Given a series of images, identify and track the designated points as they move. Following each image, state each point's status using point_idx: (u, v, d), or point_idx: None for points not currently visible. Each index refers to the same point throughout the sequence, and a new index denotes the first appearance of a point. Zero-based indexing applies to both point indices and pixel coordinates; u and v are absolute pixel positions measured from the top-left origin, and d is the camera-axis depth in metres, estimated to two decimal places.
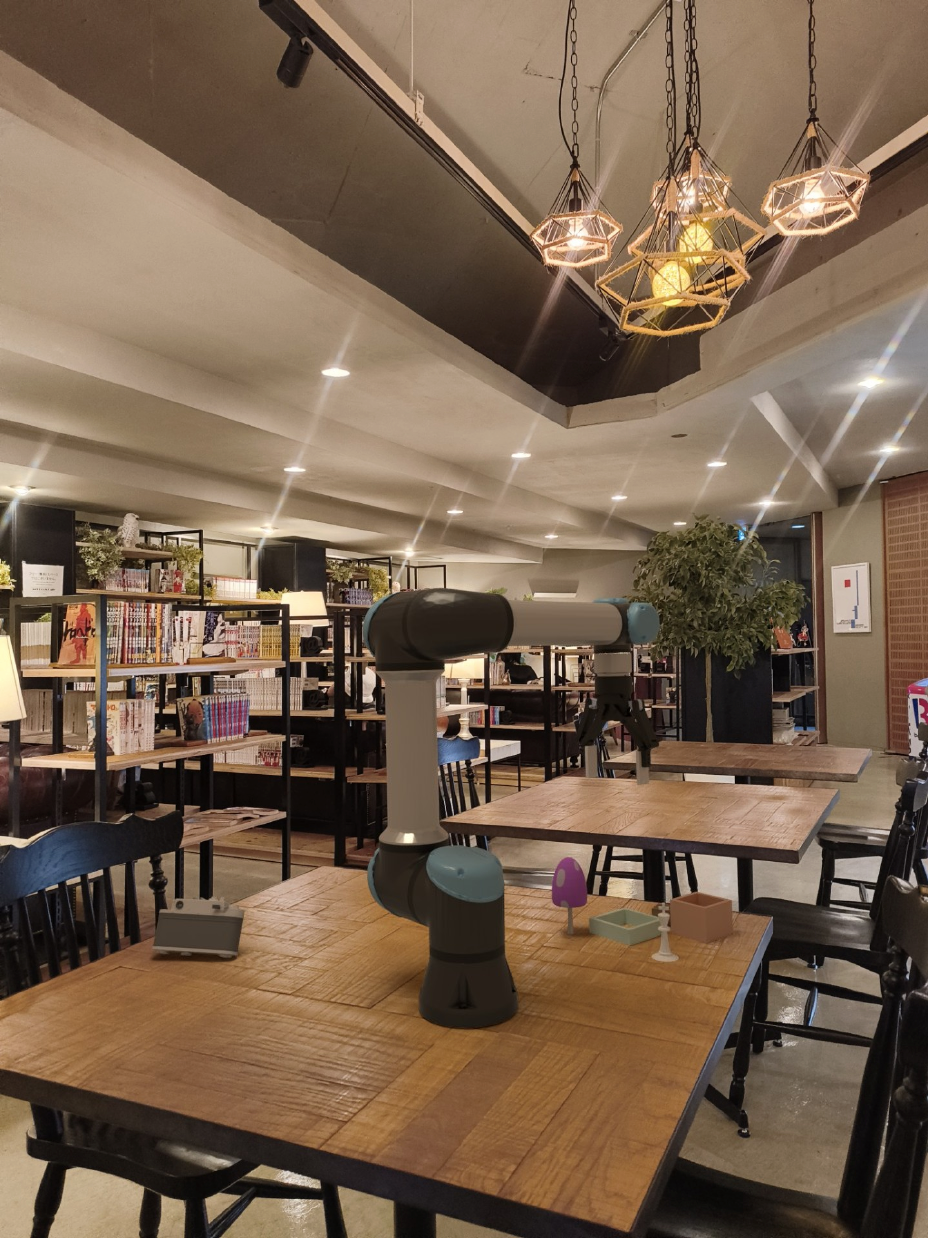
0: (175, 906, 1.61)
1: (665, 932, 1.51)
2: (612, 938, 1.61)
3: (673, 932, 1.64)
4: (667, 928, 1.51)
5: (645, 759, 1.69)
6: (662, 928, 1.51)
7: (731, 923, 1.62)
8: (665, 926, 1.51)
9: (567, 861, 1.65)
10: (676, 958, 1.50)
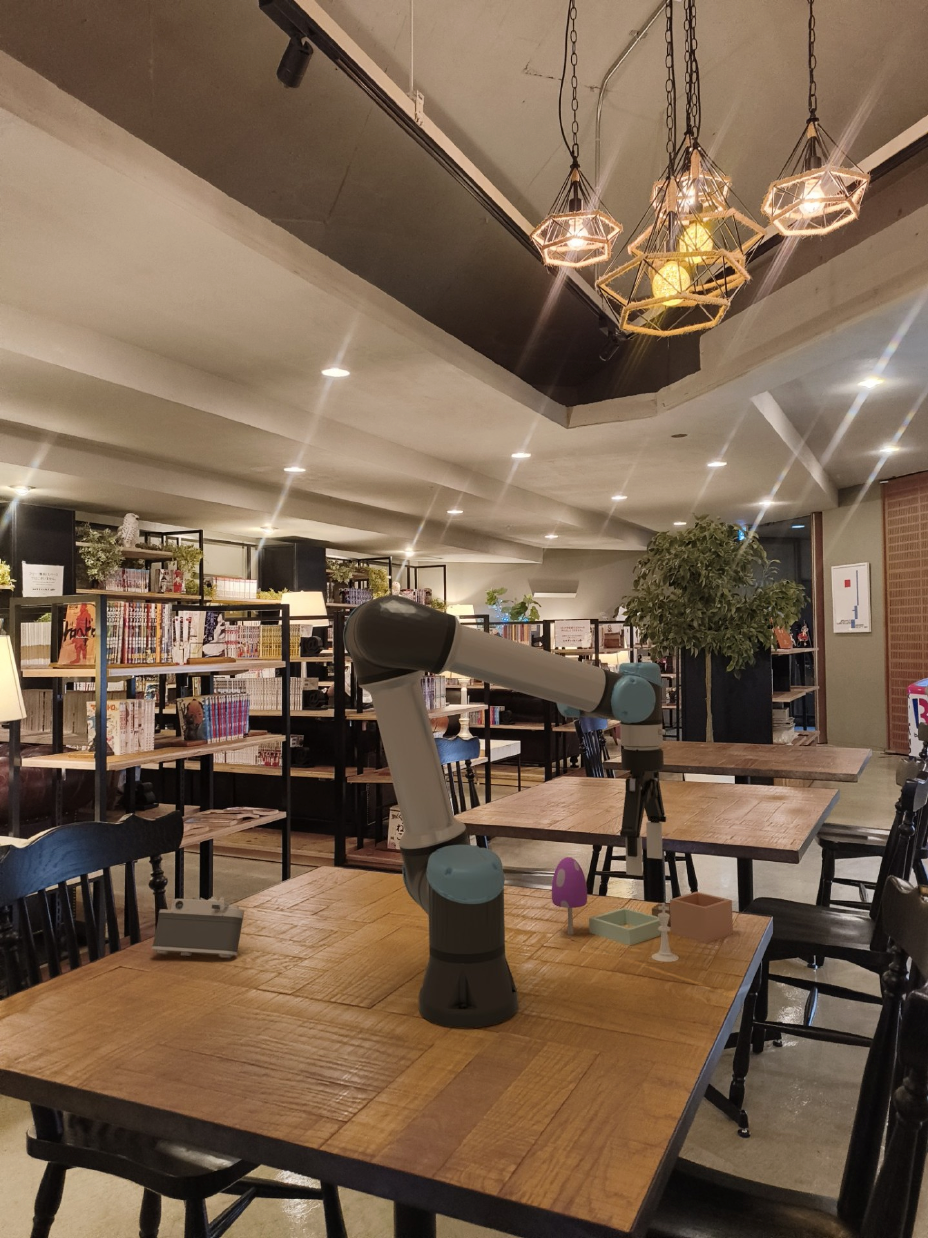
0: (175, 906, 1.61)
1: (665, 932, 1.51)
2: (612, 938, 1.61)
3: (673, 932, 1.64)
4: (667, 928, 1.51)
5: (627, 847, 1.50)
6: (662, 928, 1.51)
7: (731, 923, 1.62)
8: (665, 926, 1.51)
9: (567, 861, 1.65)
10: (676, 958, 1.50)
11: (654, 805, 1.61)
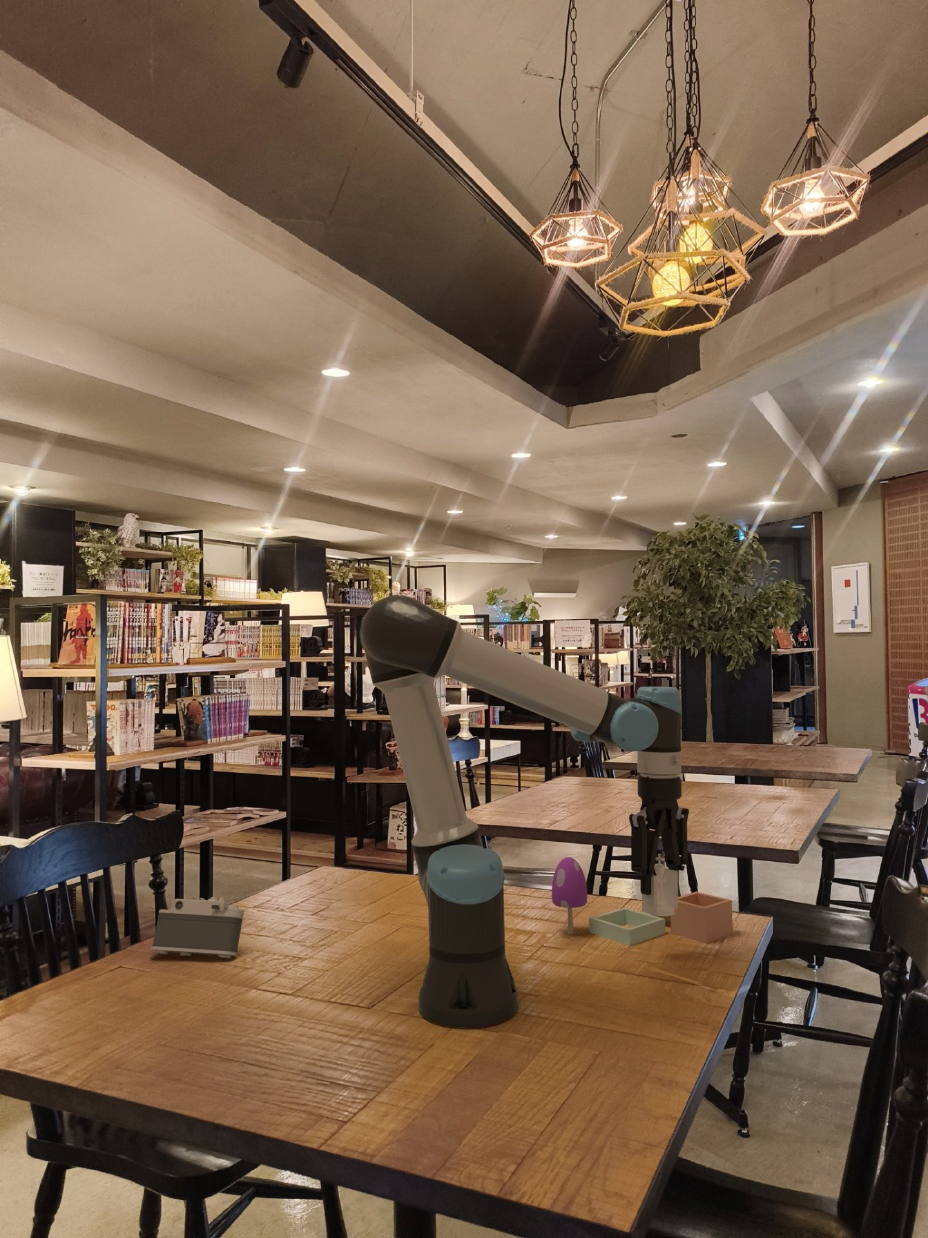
0: (174, 906, 1.61)
1: (660, 882, 1.51)
2: (612, 938, 1.61)
3: (673, 932, 1.64)
4: (663, 879, 1.51)
5: None
6: (658, 878, 1.51)
7: (731, 923, 1.62)
8: (661, 877, 1.51)
9: (567, 861, 1.65)
10: (671, 908, 1.50)
11: (671, 843, 1.53)
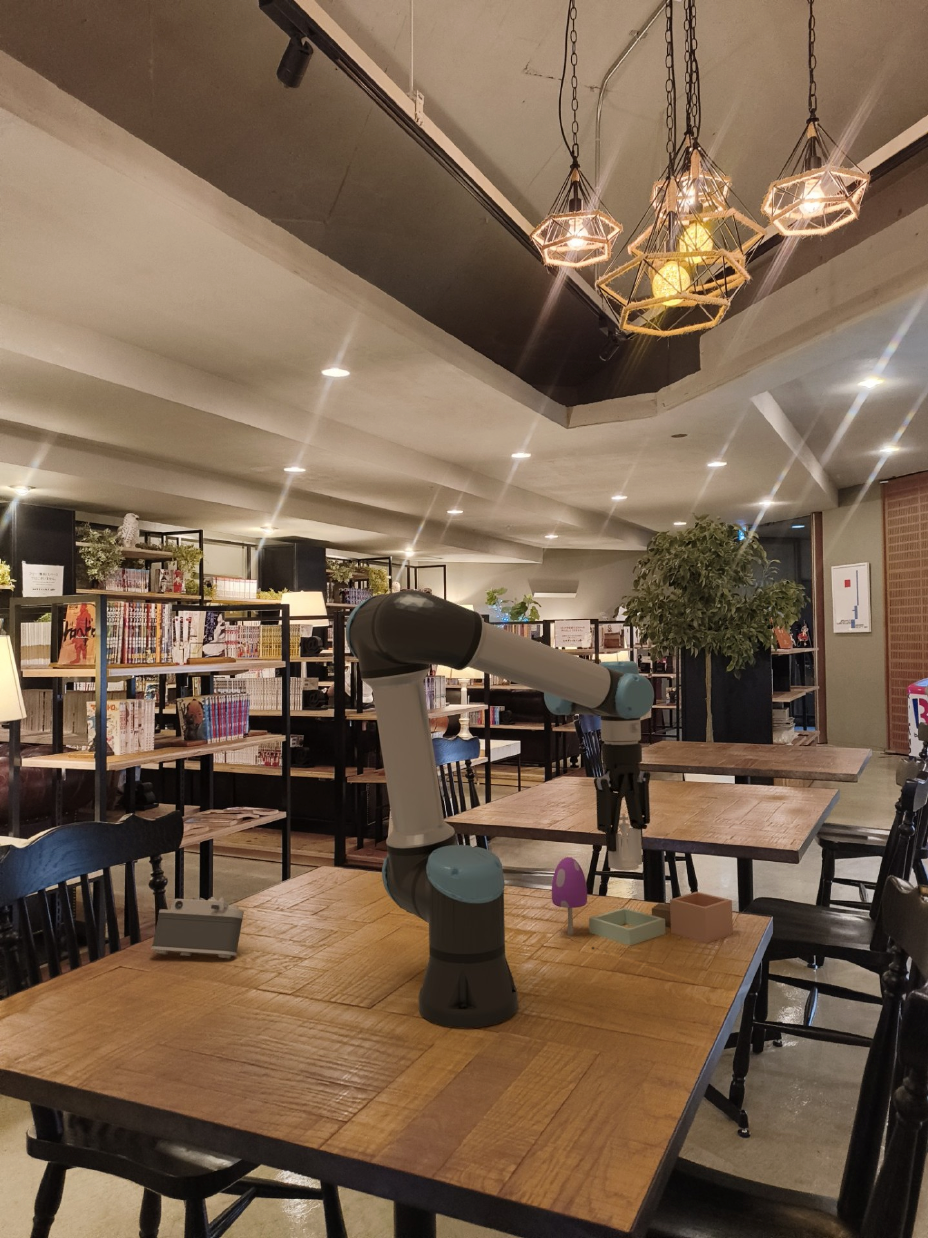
0: (174, 906, 1.61)
1: (625, 840, 1.65)
2: (612, 938, 1.61)
3: (673, 932, 1.64)
4: (627, 836, 1.65)
5: None
6: (622, 836, 1.65)
7: (731, 923, 1.62)
8: (625, 835, 1.65)
9: (567, 861, 1.65)
10: (635, 863, 1.64)
11: (634, 804, 1.66)
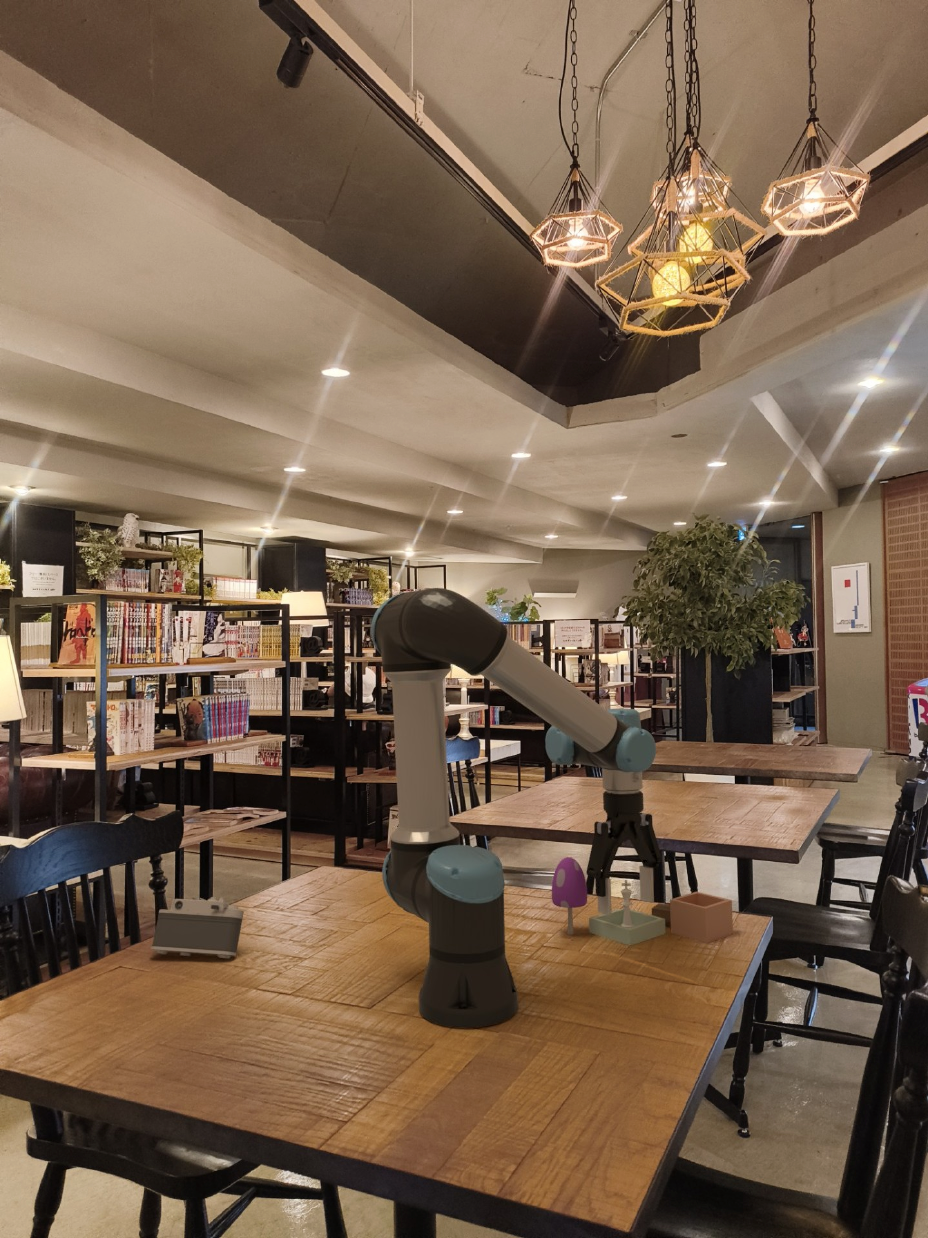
0: (174, 906, 1.61)
1: (627, 906, 1.64)
2: (612, 938, 1.61)
3: (673, 932, 1.64)
4: (629, 903, 1.64)
5: None
6: (624, 903, 1.64)
7: (731, 923, 1.62)
8: (627, 901, 1.64)
9: (567, 861, 1.65)
10: None
11: (641, 848, 1.67)
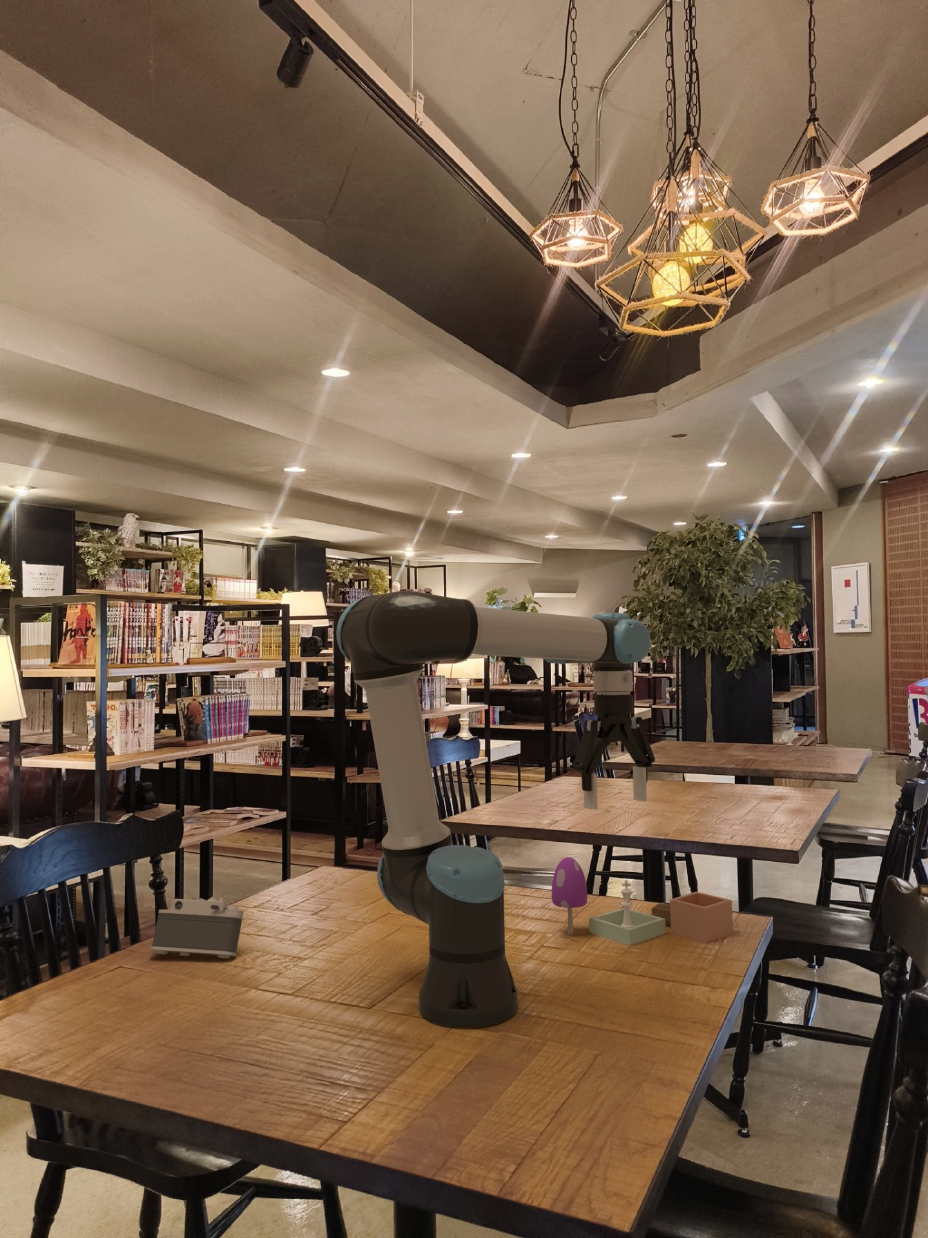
0: (174, 906, 1.61)
1: (627, 907, 1.64)
2: (612, 938, 1.61)
3: (673, 932, 1.64)
4: (629, 903, 1.64)
5: None
6: (625, 903, 1.64)
7: (731, 923, 1.62)
8: (627, 901, 1.64)
9: (567, 861, 1.65)
10: None
11: (633, 749, 1.70)
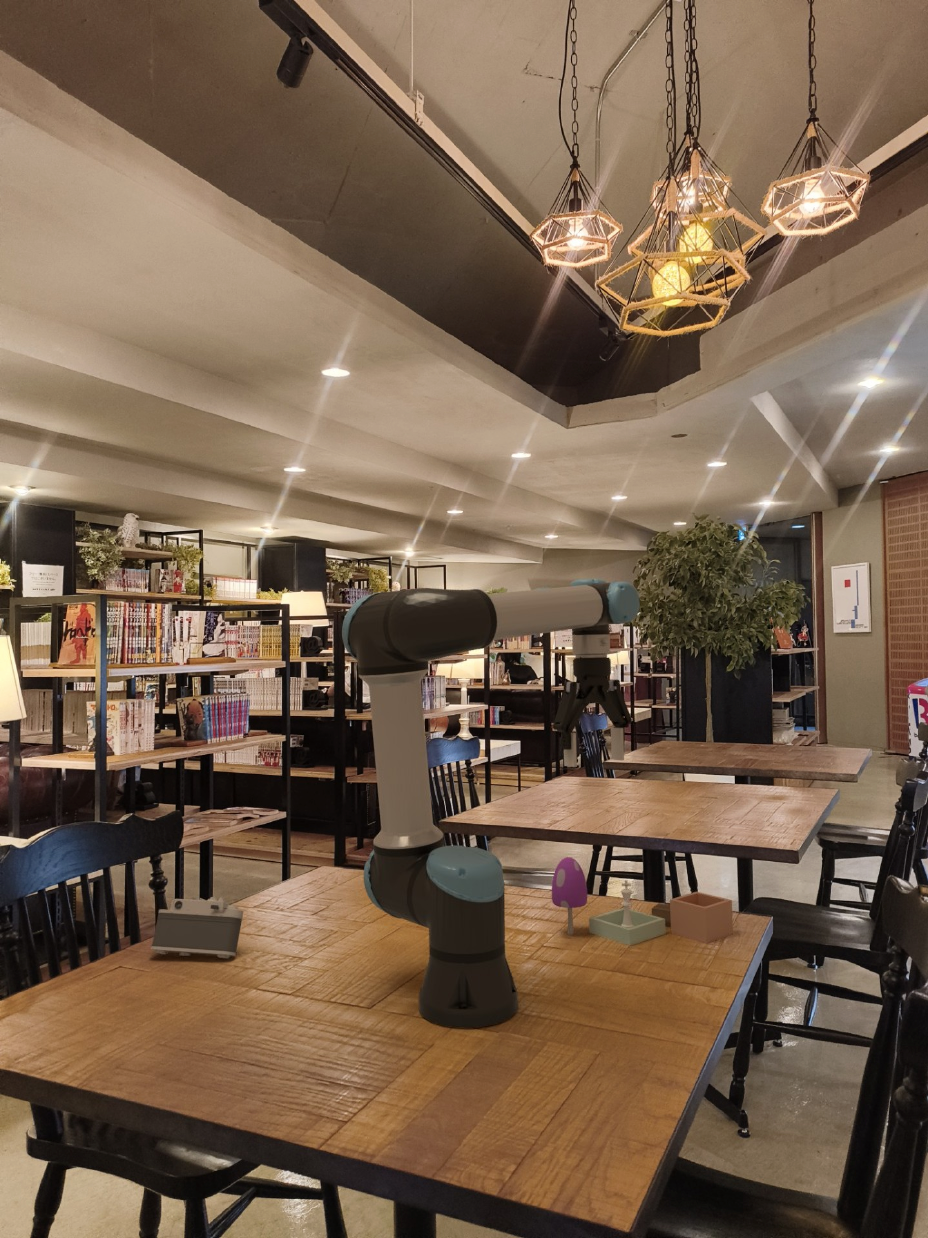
0: (174, 906, 1.61)
1: (627, 907, 1.64)
2: (612, 938, 1.61)
3: (673, 932, 1.64)
4: (629, 903, 1.64)
5: None
6: (625, 903, 1.64)
7: (731, 923, 1.62)
8: (627, 901, 1.64)
9: (567, 861, 1.65)
10: None
11: (611, 710, 1.77)
